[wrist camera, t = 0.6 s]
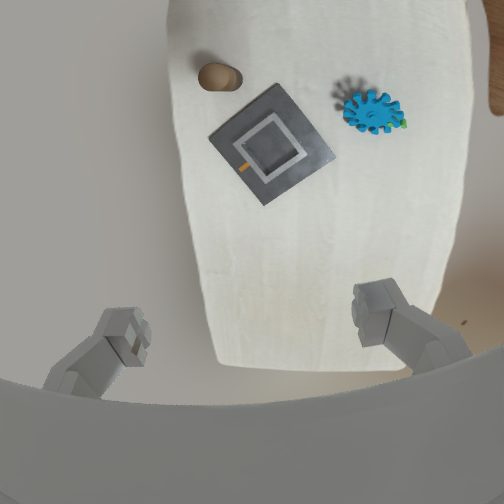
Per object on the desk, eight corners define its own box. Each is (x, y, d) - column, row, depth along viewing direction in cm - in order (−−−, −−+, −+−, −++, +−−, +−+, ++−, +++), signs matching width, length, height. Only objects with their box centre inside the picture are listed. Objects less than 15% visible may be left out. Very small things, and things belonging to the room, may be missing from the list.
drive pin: (231, 63, 43) (214, 57, 34) (248, 80, 44) (234, 77, 36) (213, 79, 45) (192, 76, 36) (228, 96, 46) (211, 97, 38)
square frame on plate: (279, 84, 43) (277, 83, 41) (335, 156, 48) (337, 160, 46) (210, 138, 51) (204, 141, 48) (264, 204, 55) (262, 210, 53)
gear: (333, 124, 44) (358, 87, 34) (335, 100, 45) (357, 63, 36) (390, 146, 45) (421, 116, 35) (388, 121, 46) (416, 90, 37)
